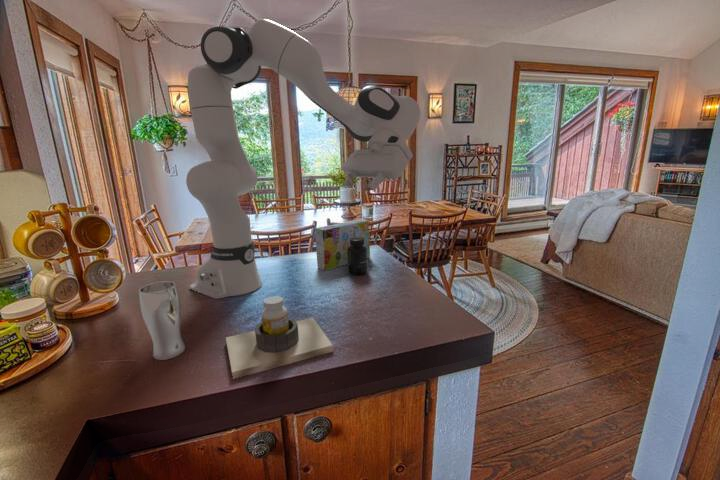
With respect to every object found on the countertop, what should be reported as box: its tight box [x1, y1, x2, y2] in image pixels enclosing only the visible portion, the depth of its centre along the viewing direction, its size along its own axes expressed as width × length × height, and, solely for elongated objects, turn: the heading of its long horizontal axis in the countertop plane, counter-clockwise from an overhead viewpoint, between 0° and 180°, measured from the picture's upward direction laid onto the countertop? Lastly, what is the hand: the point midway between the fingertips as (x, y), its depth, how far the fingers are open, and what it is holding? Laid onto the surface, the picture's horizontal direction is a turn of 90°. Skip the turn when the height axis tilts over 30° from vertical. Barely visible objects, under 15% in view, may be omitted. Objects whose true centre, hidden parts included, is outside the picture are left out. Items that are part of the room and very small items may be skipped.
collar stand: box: [225, 316, 334, 380], centre depth 74 cm, size 20×14×5 cm
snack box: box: [314, 218, 371, 272], centre depth 128 cm, size 21×6×15 cm, turn 130°
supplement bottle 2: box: [347, 237, 368, 276], centre depth 118 cm, size 7×7×12 cm
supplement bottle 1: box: [261, 295, 289, 335], centre depth 73 cm, size 5×5×10 cm
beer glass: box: [138, 280, 186, 361], centre depth 72 cm, size 7×7×15 cm
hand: (357, 187), depth 90 cm, fingers open, 8 cm apart
